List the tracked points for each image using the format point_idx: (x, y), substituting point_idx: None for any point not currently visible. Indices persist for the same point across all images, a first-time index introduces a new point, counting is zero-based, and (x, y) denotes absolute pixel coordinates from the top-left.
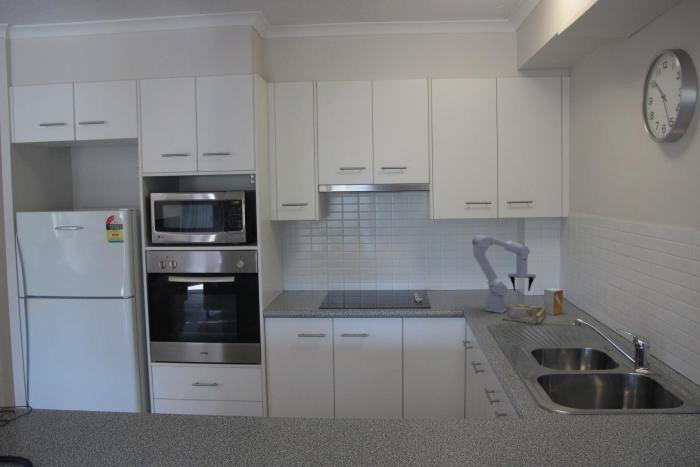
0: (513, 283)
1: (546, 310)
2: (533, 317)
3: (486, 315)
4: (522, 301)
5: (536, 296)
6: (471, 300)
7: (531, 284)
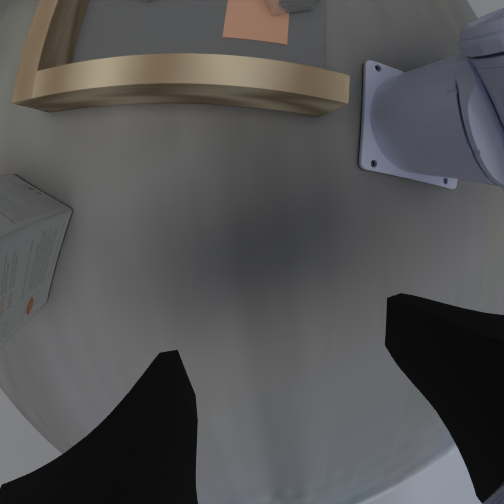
0: (497, 325)
1: (40, 199)
2: (126, 2)
3: (423, 7)
4: (269, 433)
5: (219, 501)
6: (499, 310)
7: (90, 433)
